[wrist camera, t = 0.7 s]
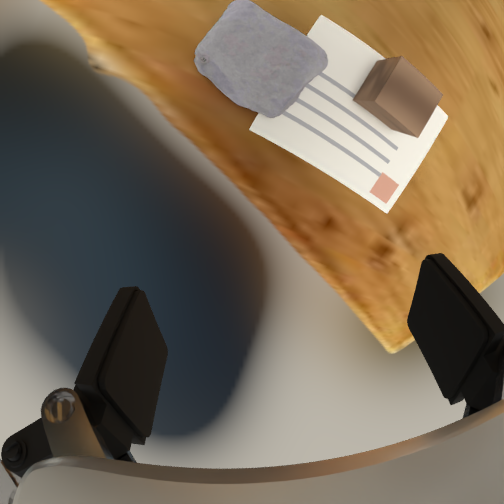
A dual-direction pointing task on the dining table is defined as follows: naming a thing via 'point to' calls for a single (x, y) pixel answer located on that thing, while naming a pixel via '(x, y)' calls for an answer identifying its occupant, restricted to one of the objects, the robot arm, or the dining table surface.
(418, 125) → the walnut cube
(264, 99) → the stone block
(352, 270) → the dining table surface
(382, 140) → the letter
